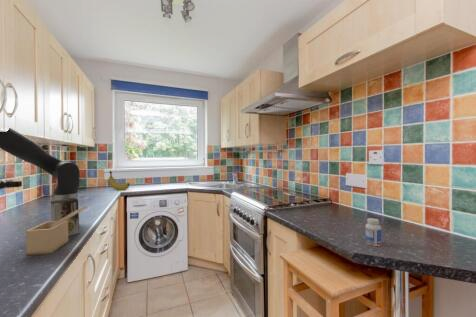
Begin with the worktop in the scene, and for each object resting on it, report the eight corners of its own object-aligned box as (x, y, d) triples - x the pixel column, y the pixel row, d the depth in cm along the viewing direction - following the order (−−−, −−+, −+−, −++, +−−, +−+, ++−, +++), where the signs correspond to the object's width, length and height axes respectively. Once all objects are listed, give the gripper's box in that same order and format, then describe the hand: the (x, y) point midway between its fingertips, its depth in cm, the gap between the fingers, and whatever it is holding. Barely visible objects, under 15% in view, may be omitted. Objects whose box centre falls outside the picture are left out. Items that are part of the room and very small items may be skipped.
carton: (46, 243, 91) (46, 221, 91) (68, 241, 92) (67, 220, 92) (26, 255, 80) (25, 231, 80) (51, 253, 81) (50, 229, 81)
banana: (131, 189, 227) (130, 170, 227) (127, 190, 222) (127, 171, 221) (111, 189, 230) (110, 170, 230) (107, 190, 224) (106, 171, 224)
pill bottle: (378, 241, 89) (378, 217, 89) (383, 247, 84) (384, 222, 83) (363, 240, 90) (363, 217, 90) (368, 245, 85) (368, 221, 85)
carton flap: (66, 217, 91) (86, 205, 93) (67, 219, 92) (87, 207, 93) (50, 225, 82) (73, 211, 83) (51, 227, 82) (74, 213, 83)
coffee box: (75, 230, 106) (74, 197, 105) (79, 233, 102) (78, 199, 101) (51, 236, 99) (50, 200, 98) (54, 239, 95) (53, 202, 94)
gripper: (-55, 178, 74) (4, 176, 77) (-18, 174, 87) (32, 172, 90) (-54, 200, 75) (6, 197, 78) (-16, 192, 88) (33, 190, 91)
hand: (20, 183), depth 84 cm, fingers closed
